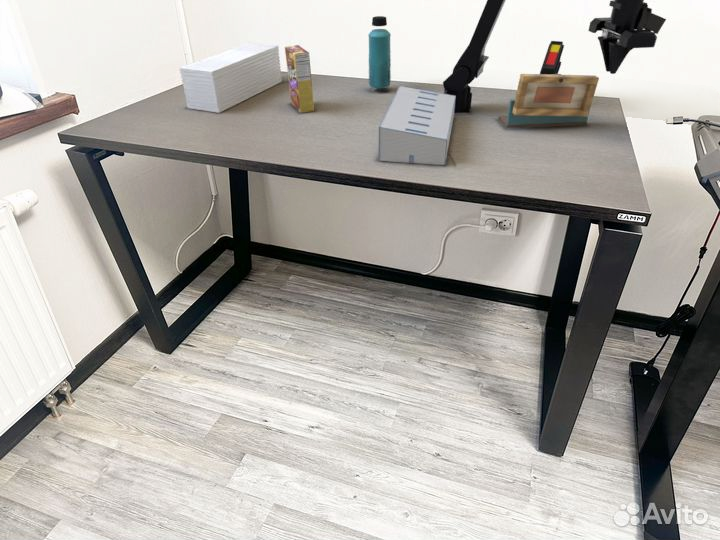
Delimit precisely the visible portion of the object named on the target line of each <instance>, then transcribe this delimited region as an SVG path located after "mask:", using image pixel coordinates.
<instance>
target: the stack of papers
mask: <svg viewBox="0 0 720 540" xmlns="http://www.w3.org/2000/svg"><path fill="white" fill-rule="evenodd" d="M179 72H180V73H179V74H180V77H181V83H182V87H183V92H184V97H185V101H186V106H187V109H191V110H198V111H203V112H204V111H205V112H211V113H216V114H217V113H218V114H220V113H222V112H223V111H225V110H227V109H230V108H232V107H234V106H236V105H237V104H240V103H242V102H244V101H246V100H247V99H250V98H252V97H254V96H256V95H258V94H259V93H262V92H264V91H266V90H268V89H270V88H272V87H274V86H276V85H278V84H280V83H282V82H283V80H282V69H281V59H280V50H279V45H276V44H275V45H274V44H265V43H257V42H256V43H255V42H247V43H244V44H242V45H239V46H236V47H233V48H230V49H228V50H225V51H223V52H220V53H217V54H214V55H211V56H209V57H206V58H203V59H200V60H197V61H195V62H192V63H189V64H186V65H183V66H181V67H179Z"/></svg>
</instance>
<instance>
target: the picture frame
mask: <svg viewBox="0 0 720 540" xmlns="http://www.w3.org/2000/svg"><path fill="white" fill-rule="evenodd" d="M599 80H600V78H599V77H598V75H597V76H596V75H592V74H591V75H589V74H587V75H585V74H583V75H582V74H579V75H578V74H561V75H551V74H540V73H520V74H519V80H518V85H517V89H516V94H515V98H514V99H515V102H514V107H513V111H512V113H513V114H514V115H524V116H584V117H588V118H589V115H590V111H589V110H591V107H592V104H593V100H594V97H595V94H596V90H597V87H598V84H599ZM588 114H589V115H588Z"/></svg>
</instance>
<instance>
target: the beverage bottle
mask: <svg viewBox="0 0 720 540" xmlns="http://www.w3.org/2000/svg"><path fill="white" fill-rule="evenodd" d="M371 20H372V21H371V26H373V27H385V26H387V25H388V22H387V20H388V19H387V16H383V15H377V16H373V17H372V19H371ZM367 36H368V56H367V57H368V61H367V62H368V85H369V86H370V88H375V89H386V88H388V87H390V86H391V79H392V78H391V67H392V66H391V60H392V57H391V56H392V55H391V33H390V31H389V30H388V29H386V28H374V29H372V30H371V31H370V32H369V33H368V35H367Z"/></svg>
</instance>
